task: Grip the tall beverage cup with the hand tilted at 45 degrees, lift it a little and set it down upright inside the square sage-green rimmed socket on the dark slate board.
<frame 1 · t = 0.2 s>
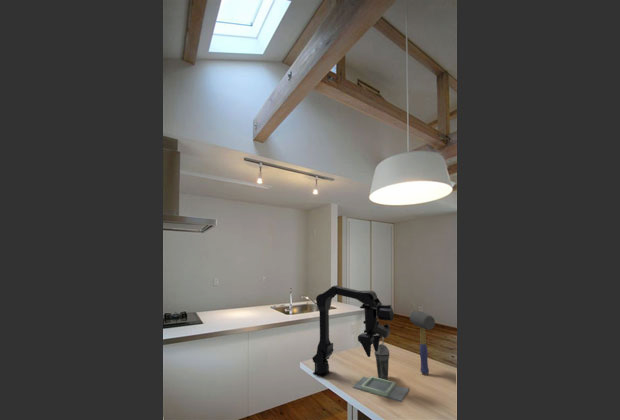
hand: (372, 354, 133), 14 cm above the table, tool pointing down, fingers open, 9 cm apart
socket board: (380, 388, 130), on the table
beverage cup: (382, 378, 140), on the table
rubber mallet: (424, 374, 145), on the table
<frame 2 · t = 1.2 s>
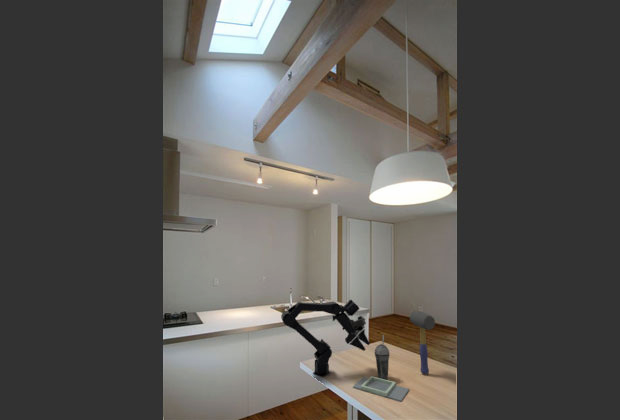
hand: (367, 347, 145), 13 cm above the table, tool tilted 45°, fingers open, 9 cm apart
nothing on the table moved.
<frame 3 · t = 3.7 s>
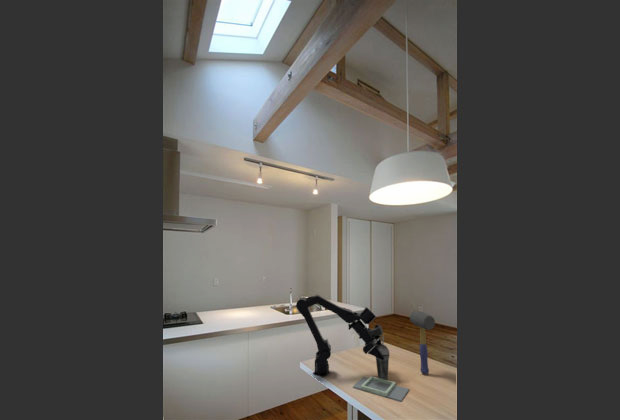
hand: (385, 356, 141), 10 cm above the table, tool tilted 45°, fingers closed on beverage cup, 7 cm apart
beverage cup: (382, 378, 140), on the table, touching gripper
everything else where it was.
when the fingers open (12 cm above the table, at t = 7.7 s): beverage cup stays where it is, resting on socket board.
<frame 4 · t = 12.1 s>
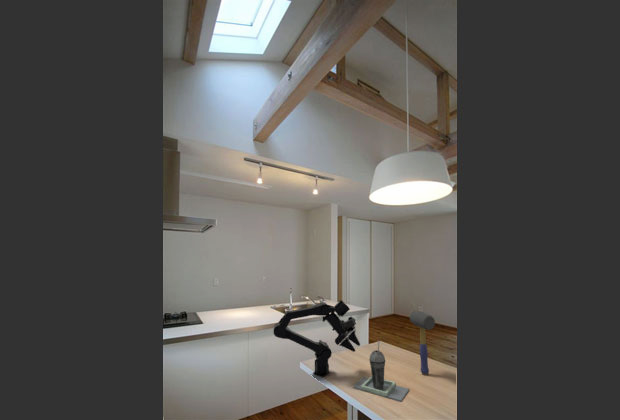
hand: (357, 348, 143), 14 cm above the table, tool tilted 45°, fingers open, 9 cm apart
beverage cup: (378, 387, 130), resting on socket board
everything else where it was.
at the end: beverage cup 0.2 cm from the target spot on the socket board, point 0.4 cm above the socket board's base; beverage cup tilted 0°; the gripper is holding nothing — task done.
